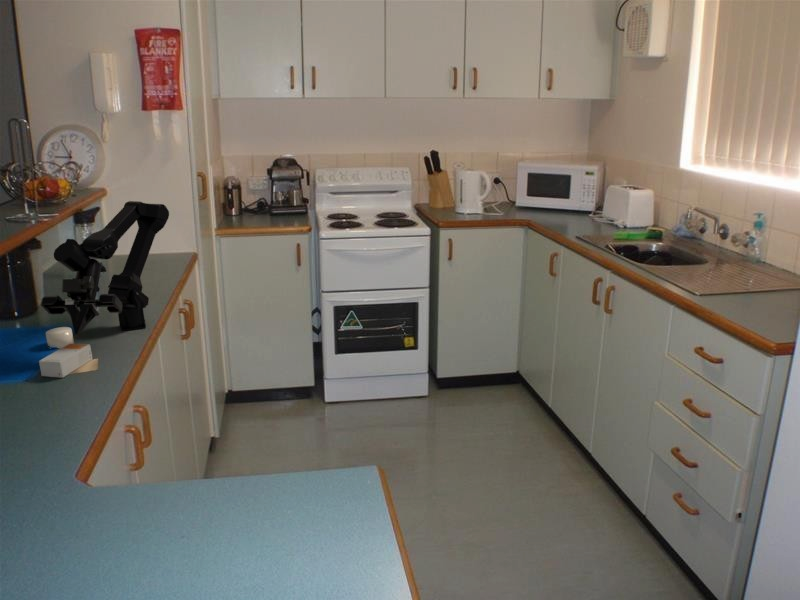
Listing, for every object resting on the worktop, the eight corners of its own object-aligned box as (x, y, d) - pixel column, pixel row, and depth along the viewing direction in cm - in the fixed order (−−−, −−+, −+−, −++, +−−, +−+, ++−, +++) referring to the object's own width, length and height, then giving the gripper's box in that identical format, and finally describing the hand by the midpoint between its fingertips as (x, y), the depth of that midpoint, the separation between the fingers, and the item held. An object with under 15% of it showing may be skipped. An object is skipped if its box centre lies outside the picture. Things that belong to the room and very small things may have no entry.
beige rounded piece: (74, 339, 195) (72, 325, 193) (73, 347, 189) (71, 333, 188) (49, 342, 192) (46, 329, 191) (47, 350, 187) (44, 336, 185)
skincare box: (90, 343, 178) (60, 362, 167) (93, 359, 180) (63, 378, 169) (69, 342, 180) (37, 360, 168) (72, 357, 181) (41, 377, 170)
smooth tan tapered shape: (98, 360, 180) (98, 358, 180) (98, 372, 173) (97, 369, 173) (55, 366, 177) (55, 364, 177) (53, 378, 170) (53, 376, 170)
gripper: (37, 265, 176) (24, 321, 169) (112, 263, 176) (102, 319, 169) (55, 286, 186) (44, 340, 178) (126, 284, 186) (118, 338, 179)
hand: (76, 334), depth 176 cm, fingers closed
